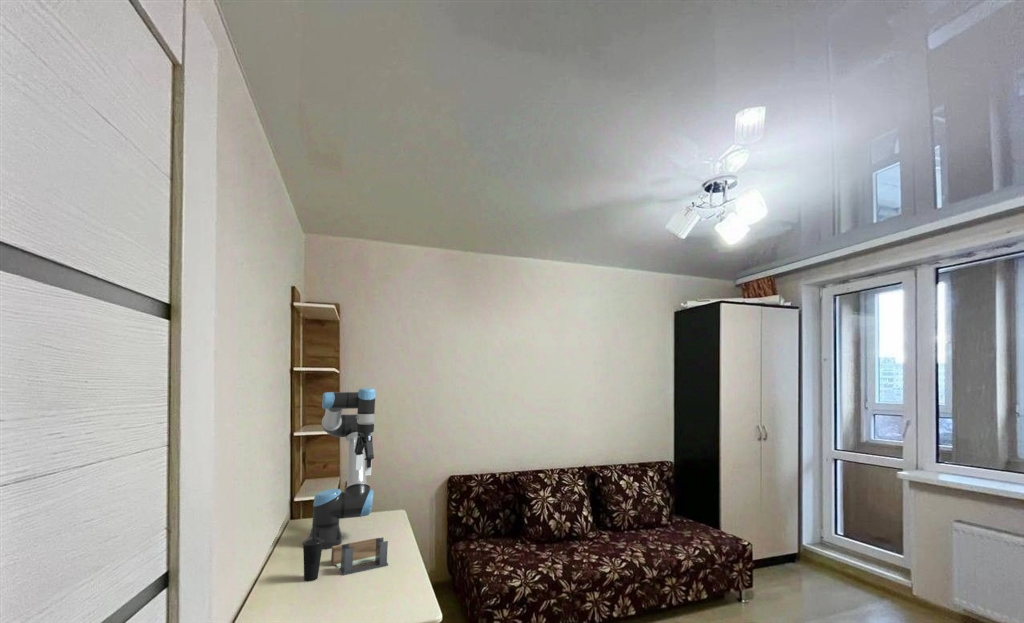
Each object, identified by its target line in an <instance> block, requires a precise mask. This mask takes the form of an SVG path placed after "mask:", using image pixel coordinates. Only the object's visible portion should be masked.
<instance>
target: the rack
mask: <svg viewBox="0 0 1024 623" xmlns="http://www.w3.org/2000/svg"><path fill="white" fill-rule="evenodd" d="M376 538H377V539H376V556H375V560H373V561H369V562H364V563H359V564H354V565H353V548H350V544H347V543H343V544H344V545H342V544H341V545H342V554H341V567H340V568H338V571H339V572H340V573H341V575H342V576H347V575H353V574H356V573H360V572H365V571H369V570H374V569H378V568H383V567H388V566H389V563H388V547H389V546H388V545H389V541H388V540H385V541H384V536H382V537H376Z"/></svg>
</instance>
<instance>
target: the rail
mask: <svg viewBox="0 0 1024 623" xmlns="http://www.w3.org/2000/svg"><path fill="white" fill-rule="evenodd" d="M377 538H378V537H375V538H369V539H364V540H359V541H354V542H353V541H352V542H350V543H349V542H348V543H346V544H350V548H353V561H355V560H360V559H364V558H369V557H374V556H376V539H377ZM344 544H345V543H343V544H342V543H341V544H340V545H336V546H332V548H331V557H330V559H331V560H330V561H331V564H332V565H335V564H340V563H341V554H342V545H344ZM335 566H336V565H335Z"/></svg>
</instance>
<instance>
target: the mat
mask: <svg viewBox="0 0 1024 623" xmlns="http://www.w3.org/2000/svg"><path fill="white" fill-rule="evenodd" d="M370 561H375V556H374V557H369V558H364V559H360V560H355V561H353V565H356V564H361V563H366V562H370ZM335 567H336V568H337V569H339V568H341V563H340V564H335Z"/></svg>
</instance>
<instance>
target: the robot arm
mask: <svg viewBox="0 0 1024 623" xmlns="http://www.w3.org/2000/svg"><path fill="white" fill-rule="evenodd" d="M376 397H377V395H376V389H375V388H359V389H358V391H353V392H352V391H345V392H344V391H342V392H341V391H330V392H328V391H327V392H324V393H323V394H322V404H321V408H322V409H324V410H325V413H324V415H323V417H322V419H321V427H322V430H324V432H325V433H327V434H328V435H330V436H332V437H335V438H345V441H346V443H348V472H347V474H348V484H347V486H346V487H345V488H344V491H342V490H341V489H340V488H330V489H326V490H323V491H320V492H317V494H315V495H314V498H313V504H312V507H313V512H312V525H311V529H310V532H309V535H308V538H311V537H313V524H315V537H319V538H322V539H324V542H323V546H322V550H327V549H332V546H336V545H342V543H343V535H342V532H341V528H340V520H341V519H342V520H343V519H352V518H362V517H368V516H370V515H371V513H372V508H373V501H374V492H375V491H374V490H373V489H371V485H370V484H368V481H367V478H368V477H367V476H372V468H373V467H372V466H373V462H372V460H373V459H375V454H374V446H373V445H374V444H373V435H372V433H374V432H375V424H374V423H375V417H376V416H375V415H376V413H375V410H376V409H375V408H376ZM344 409H346V410H347V409H357V412H356V414H354V413H353V414H342V412H343V410H344ZM308 538H307V539H308Z"/></svg>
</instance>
